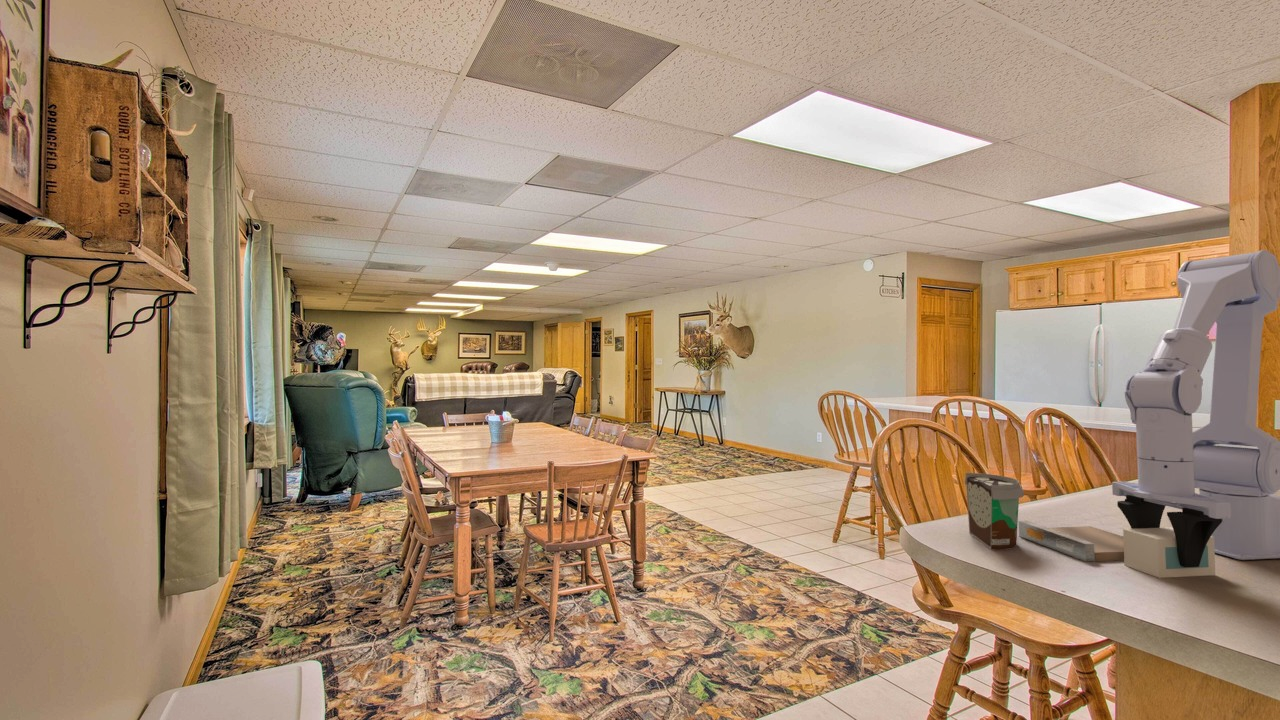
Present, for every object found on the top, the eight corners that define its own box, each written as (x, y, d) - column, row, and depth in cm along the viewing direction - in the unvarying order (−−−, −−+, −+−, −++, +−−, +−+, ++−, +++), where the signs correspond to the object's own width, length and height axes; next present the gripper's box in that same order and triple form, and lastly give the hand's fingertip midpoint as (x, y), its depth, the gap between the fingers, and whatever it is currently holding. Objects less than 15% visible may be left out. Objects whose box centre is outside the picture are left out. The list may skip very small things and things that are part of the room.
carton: (1177, 562, 81) (1176, 527, 82) (1215, 575, 76) (1214, 537, 76) (1124, 565, 81) (1123, 529, 81) (1159, 577, 76) (1158, 539, 76)
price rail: (1027, 535, 96) (1026, 520, 96) (1094, 561, 83) (1094, 543, 83) (1017, 536, 95) (1017, 521, 95) (1084, 561, 82) (1083, 543, 82)
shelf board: (1090, 533, 96) (1089, 526, 96) (1166, 558, 83) (1166, 549, 83) (1027, 535, 96) (1027, 528, 96) (1095, 561, 83) (1095, 552, 83)
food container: (1040, 554, 86) (1038, 486, 86) (995, 552, 87) (993, 485, 87) (1005, 532, 98) (1004, 472, 98) (966, 530, 99) (964, 472, 99)
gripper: (1091, 452, 86) (1094, 544, 86) (1192, 468, 71) (1196, 579, 71) (1136, 451, 86) (1139, 543, 86) (1244, 466, 72) (1249, 577, 72)
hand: (1168, 559), depth 79 cm, fingers closed on carton, 5 cm apart
